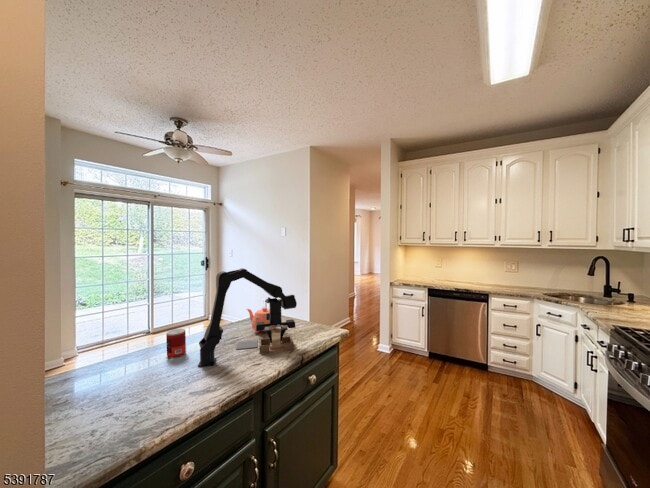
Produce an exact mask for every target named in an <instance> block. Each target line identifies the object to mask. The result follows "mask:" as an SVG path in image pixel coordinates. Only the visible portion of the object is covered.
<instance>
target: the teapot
mask: <svg viewBox="0 0 650 488" xmlns="http://www.w3.org/2000/svg"><path fill="white" fill-rule="evenodd" d="M246 310H247V312H248V313H249V314H248V315H249V320H250V321H251V328H252V330H253V331H254V333H255V334H256V333H257V334H258V333H260V332H261V331H256V323H257V322H264V324H269V323H270V322H269V320H267V319H266V314H267V313H270V308H268V307H262V308H261V309H259V310H256V311H255V312H254V313H253V311H252V310H251V309H250V308H246ZM275 328H276V327H270V331H275V330H276V329H275ZM262 332H264V330H263V331H262ZM264 333H265V334H267V332H264Z"/></svg>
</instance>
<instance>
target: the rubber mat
mask: <svg viewBox="0 0 650 488" xmlns="http://www.w3.org/2000/svg"><path fill="white" fill-rule="evenodd" d="M258 340H259V339H254V340H253V339H251V340H244V341H237V344H236V348H235V350H236V351H239V350H248V349H250V350H251V349H256V348H257V349H258V342H259V341H258Z"/></svg>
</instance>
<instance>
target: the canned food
mask: <svg viewBox="0 0 650 488" xmlns="http://www.w3.org/2000/svg"><path fill="white" fill-rule="evenodd" d="M186 336H187V335H186V329H185V328H177V329H176V328H175V329H171V330H169V331H167V332H166V339H165V340H166V356H167V358H170V359H175V358H180V357H182V356H184V355H186V352H187V350H186V349H187V346H186V340H187V339H186Z"/></svg>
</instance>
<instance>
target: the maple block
mask: <svg viewBox="0 0 650 488" xmlns="http://www.w3.org/2000/svg"><path fill="white" fill-rule="evenodd" d="M280 333H281V329H280V330H279V329H278V330H276V329H275V330H271V337H272V346H275V345H281V344H280Z"/></svg>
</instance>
